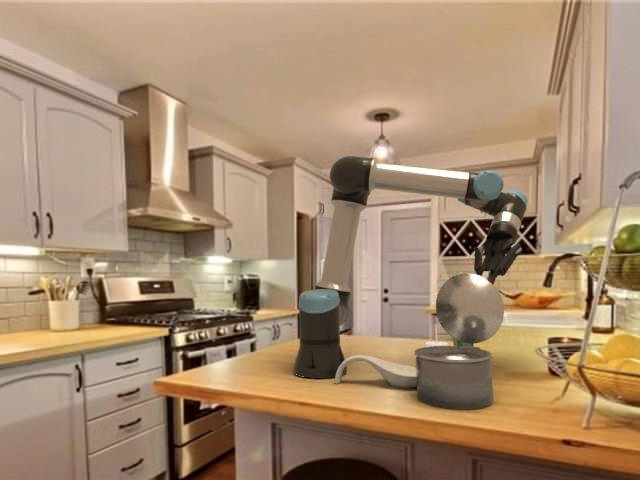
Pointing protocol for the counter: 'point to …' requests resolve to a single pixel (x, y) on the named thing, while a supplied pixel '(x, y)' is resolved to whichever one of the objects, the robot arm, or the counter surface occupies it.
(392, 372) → the spoon rest
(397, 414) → the counter surface
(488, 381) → the cooker pot
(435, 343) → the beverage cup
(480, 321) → the lid
